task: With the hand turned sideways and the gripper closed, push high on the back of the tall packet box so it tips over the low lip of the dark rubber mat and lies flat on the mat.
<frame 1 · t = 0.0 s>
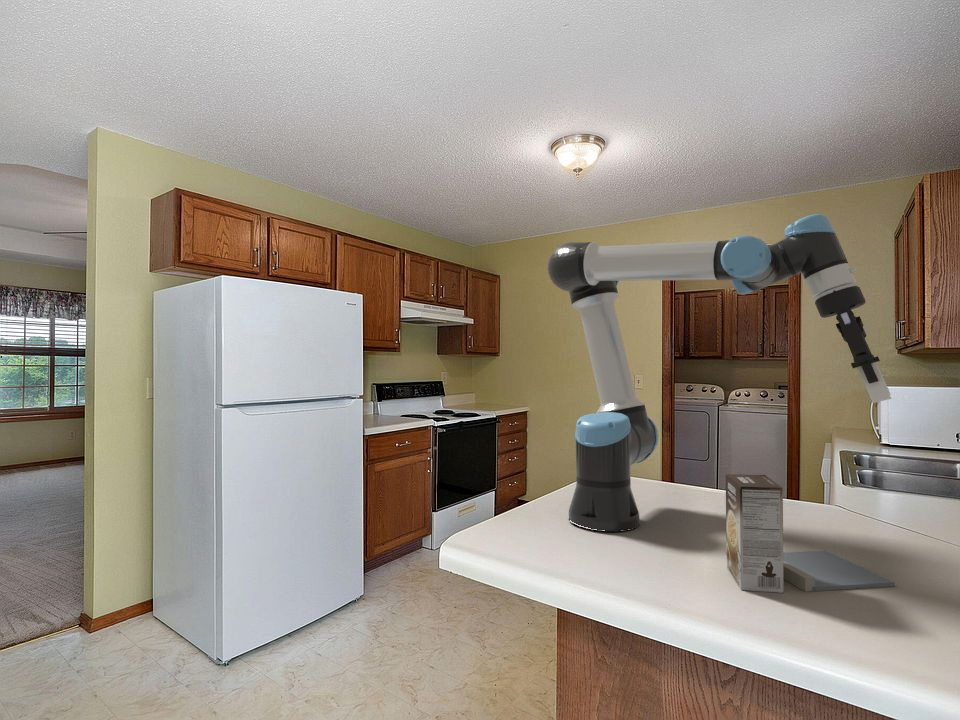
hand: (882, 398, 96), 28 cm above the countertop, tool tilted 20°, fingers open, 13 cm apart
coffee box: (753, 581, 84), on the countertop
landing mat: (819, 570, 87), on the countertop
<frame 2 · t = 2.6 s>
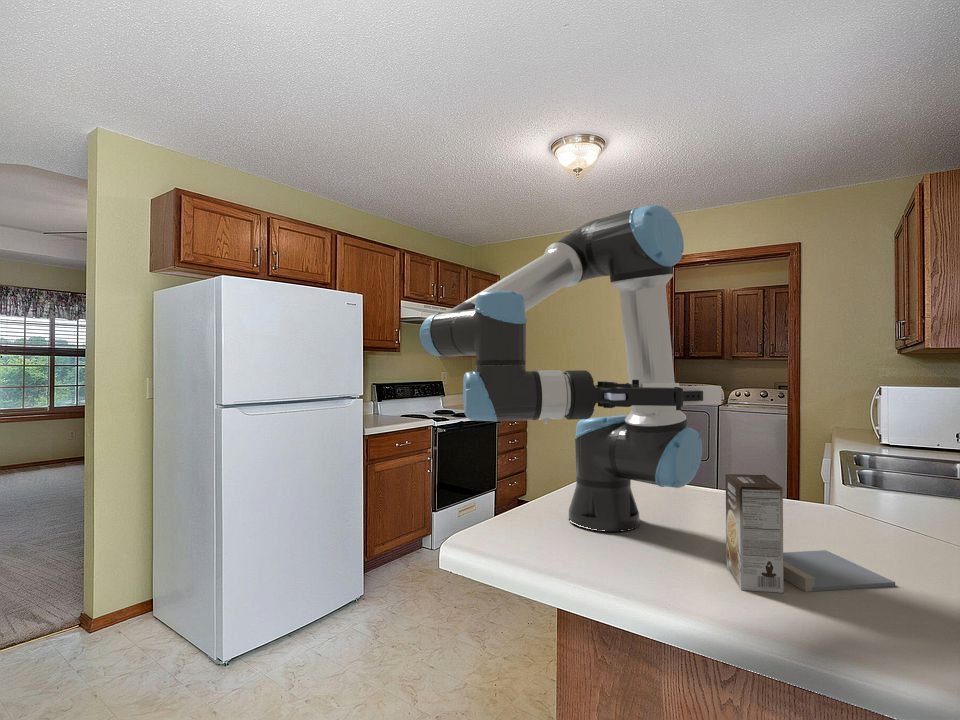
hand: (697, 392, 83), 30 cm above the countertop, tool horizontal, fingers open, 12 cm apart
nothing on the countertop moved.
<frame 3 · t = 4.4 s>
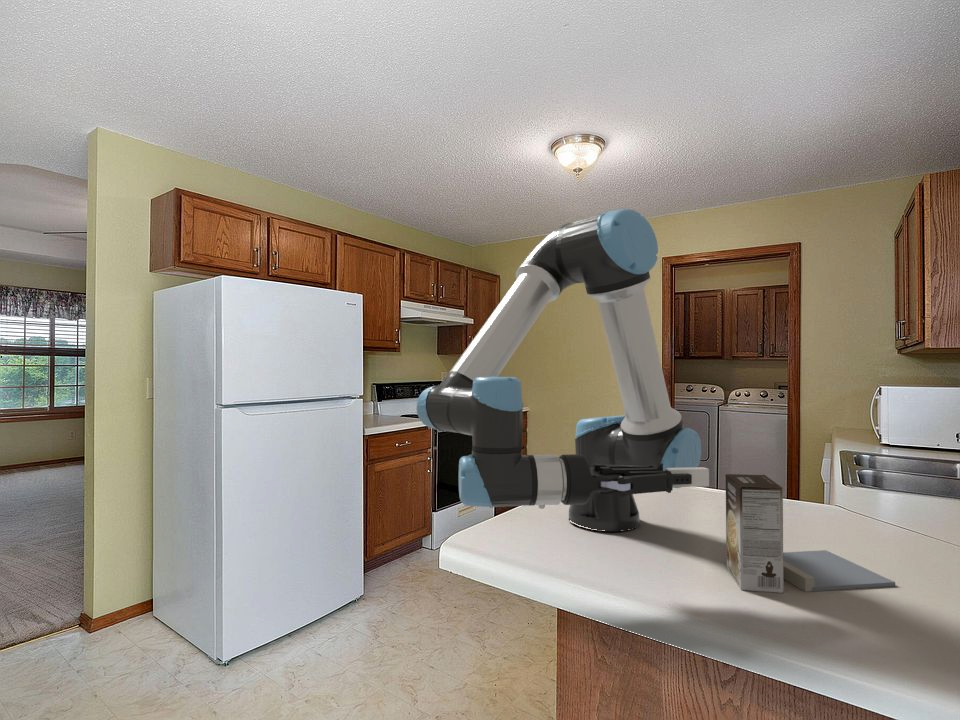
hand: (706, 476, 82), 17 cm above the countertop, tool horizontal, fingers closed
nothing on the countertop moved.
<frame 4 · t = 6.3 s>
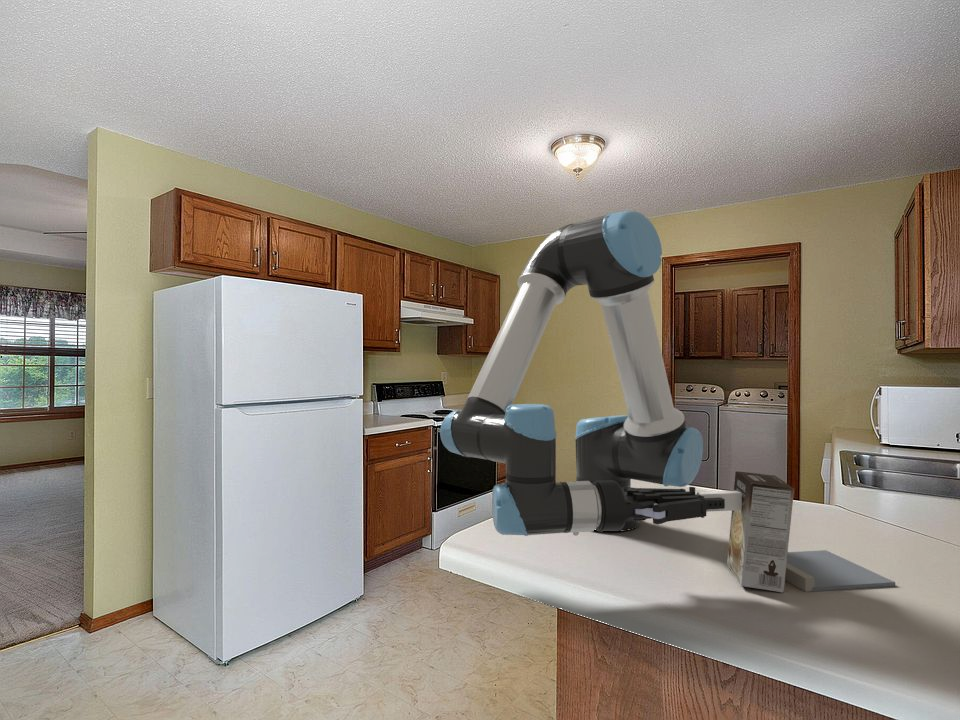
hand: (738, 500, 83), 13 cm above the countertop, tool horizontal, fingers closed
coffee box: (753, 579, 84), on the countertop, touching gripper
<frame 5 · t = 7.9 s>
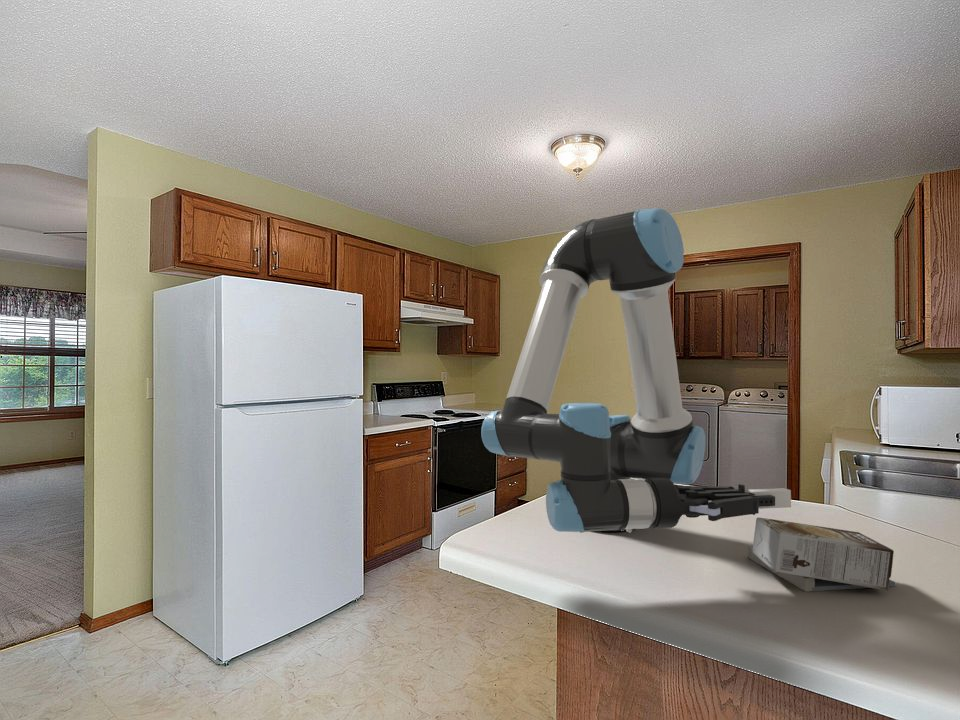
hand: (787, 497, 84), 13 cm above the countertop, tool horizontal, fingers closed
coffee box: (763, 543, 84), point 6 cm above the countertop, touching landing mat
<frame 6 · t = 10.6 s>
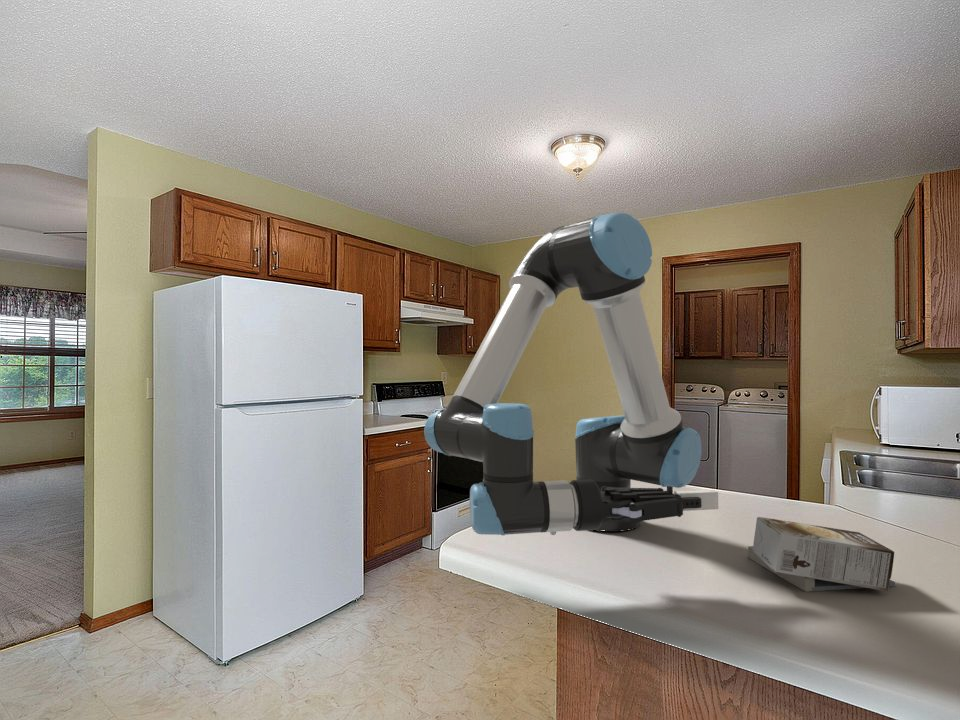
hand: (715, 499, 83), 13 cm above the countertop, tool horizontal, fingers closed
nothing on the countertop moved.
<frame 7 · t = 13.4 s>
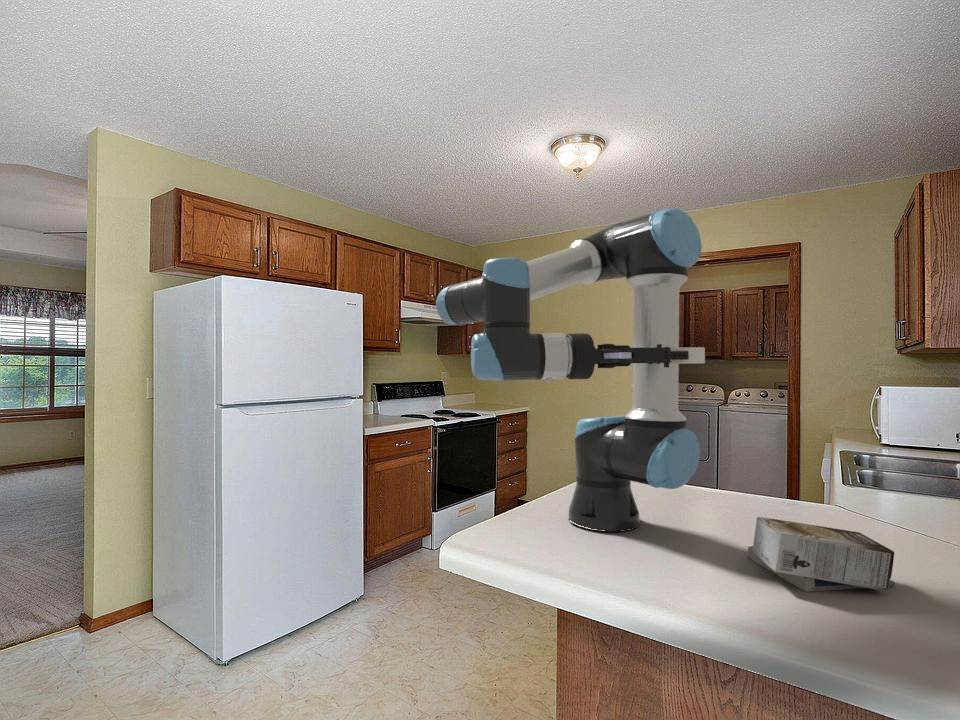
hand: (702, 355, 88), 36 cm above the countertop, tool horizontal, fingers closed
nothing on the countertop moved.
at the end: coffee box tilted 98°; coffee box touching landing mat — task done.
